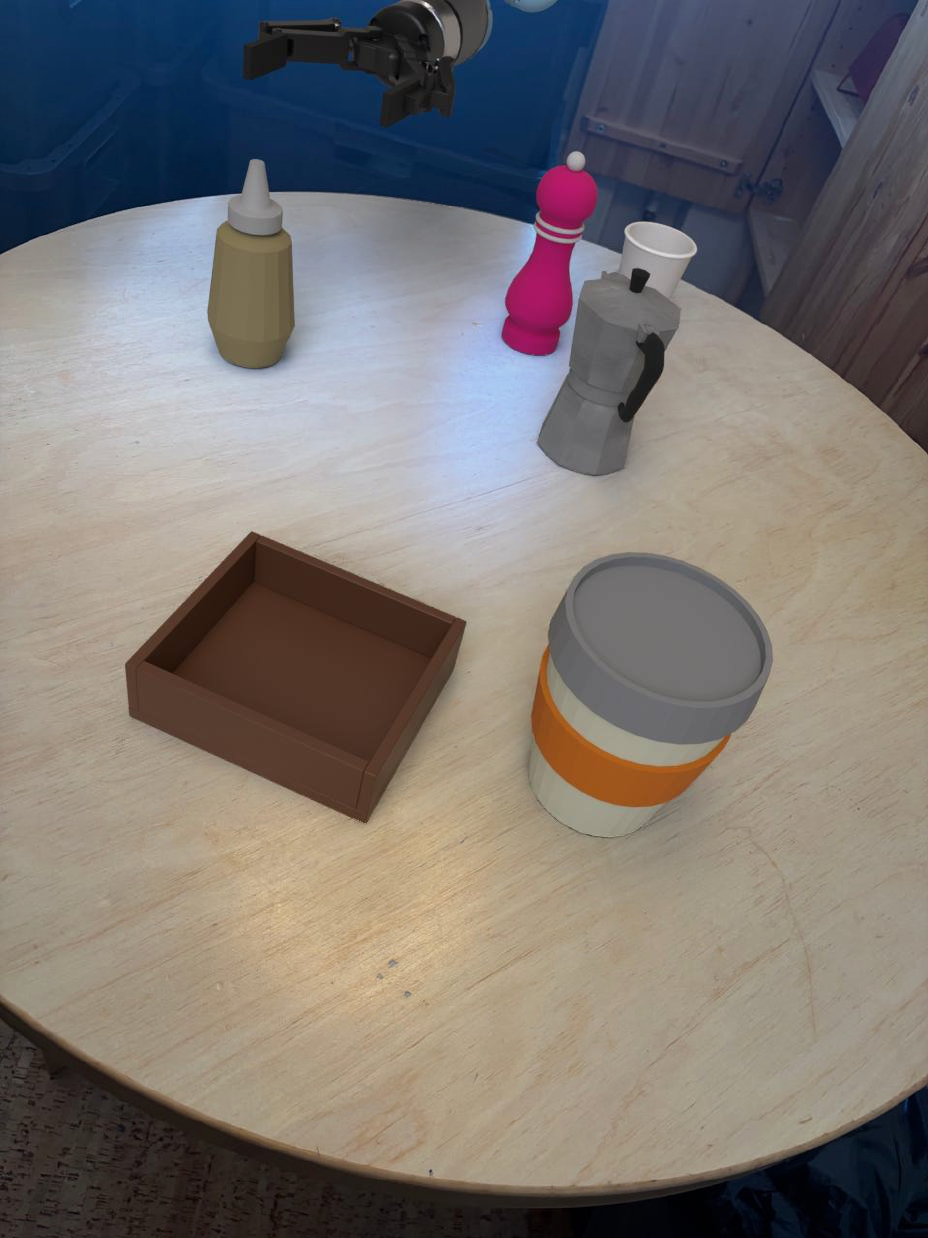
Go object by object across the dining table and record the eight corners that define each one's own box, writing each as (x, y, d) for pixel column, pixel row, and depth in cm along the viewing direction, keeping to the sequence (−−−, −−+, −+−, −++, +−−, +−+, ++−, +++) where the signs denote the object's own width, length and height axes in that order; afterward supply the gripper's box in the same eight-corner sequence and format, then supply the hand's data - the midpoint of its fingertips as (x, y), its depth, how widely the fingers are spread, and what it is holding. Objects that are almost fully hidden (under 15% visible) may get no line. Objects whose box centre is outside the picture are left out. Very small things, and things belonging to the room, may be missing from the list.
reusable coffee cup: (715, 847, 61) (819, 699, 51) (537, 878, 57) (611, 725, 47) (638, 697, 69) (715, 544, 59) (477, 716, 65) (529, 553, 55)
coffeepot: (521, 405, 95) (569, 228, 82) (609, 411, 97) (669, 240, 84) (556, 503, 84) (618, 318, 72) (654, 508, 87) (730, 329, 74)
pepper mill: (500, 317, 107) (544, 130, 93) (562, 333, 107) (615, 148, 93) (493, 348, 101) (538, 155, 88) (558, 364, 102) (614, 174, 88)
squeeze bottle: (190, 356, 89) (188, 159, 77) (234, 323, 95) (238, 134, 83) (267, 386, 88) (277, 191, 76) (306, 350, 94) (322, 163, 82)
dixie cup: (585, 309, 112) (610, 226, 105) (629, 296, 117) (656, 216, 110) (638, 344, 109) (667, 260, 102) (681, 329, 113) (712, 248, 107)
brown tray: (128, 716, 60) (124, 663, 56) (249, 581, 70) (251, 530, 67) (365, 824, 58) (375, 777, 54) (453, 669, 68) (467, 620, 64)
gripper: (514, 118, 99) (437, 175, 84) (302, 46, 103) (191, 88, 88) (531, 38, 94) (452, 83, 79) (307, -35, 97) (190, -5, 82)
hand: (315, 86), depth 83 cm, fingers open, 13 cm apart
